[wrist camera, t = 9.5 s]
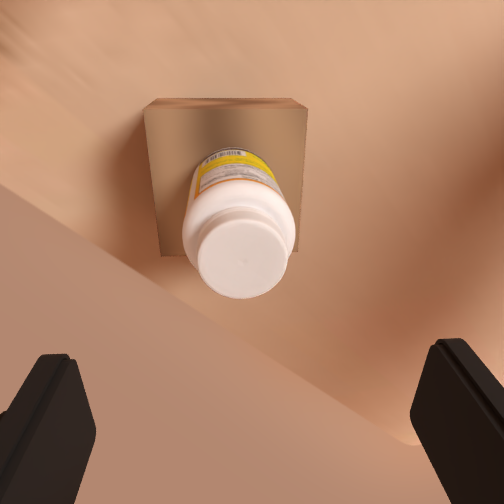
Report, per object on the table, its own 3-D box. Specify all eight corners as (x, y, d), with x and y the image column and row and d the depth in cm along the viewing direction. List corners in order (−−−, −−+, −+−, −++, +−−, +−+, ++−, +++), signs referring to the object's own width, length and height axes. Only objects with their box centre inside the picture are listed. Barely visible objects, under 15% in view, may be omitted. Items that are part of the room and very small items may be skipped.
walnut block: (291, 98, 28) (308, 108, 23) (284, 220, 33) (297, 252, 28) (157, 98, 27) (142, 109, 22) (170, 222, 32) (161, 256, 27)
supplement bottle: (240, 239, 27) (252, 333, 18) (175, 194, 25) (150, 275, 16) (291, 179, 25) (333, 250, 16) (225, 126, 23) (229, 173, 14)
